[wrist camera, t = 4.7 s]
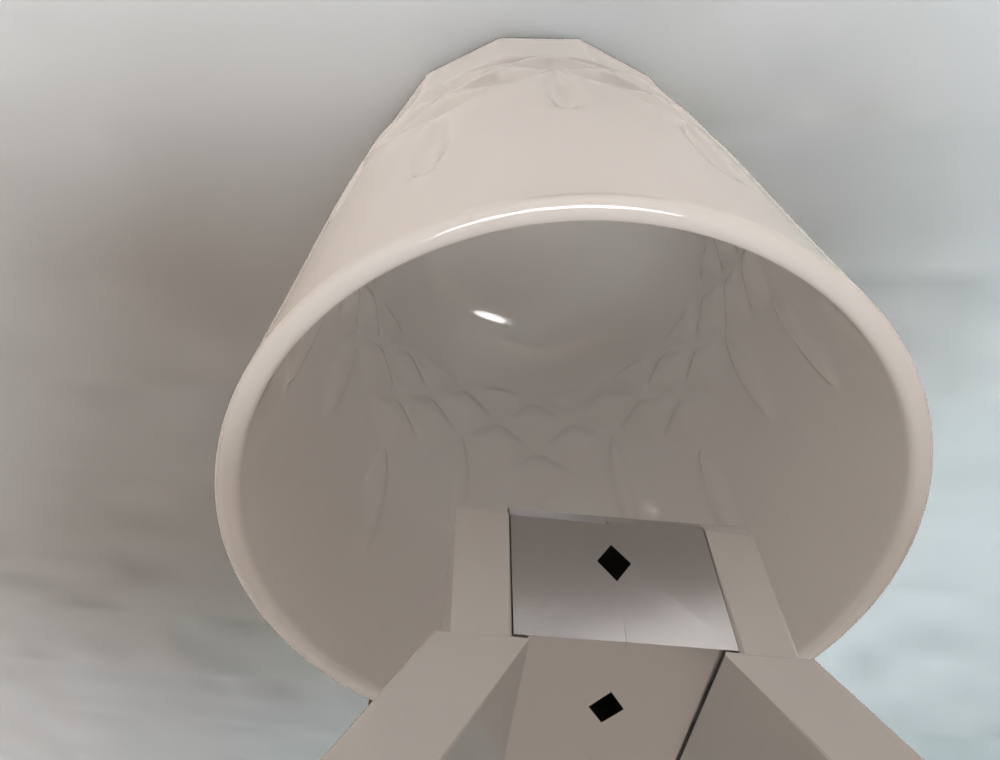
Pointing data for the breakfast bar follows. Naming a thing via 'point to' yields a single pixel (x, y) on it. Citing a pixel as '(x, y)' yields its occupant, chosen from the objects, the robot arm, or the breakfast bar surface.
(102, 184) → the breakfast bar surface
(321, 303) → the white cup
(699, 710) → the robot arm
